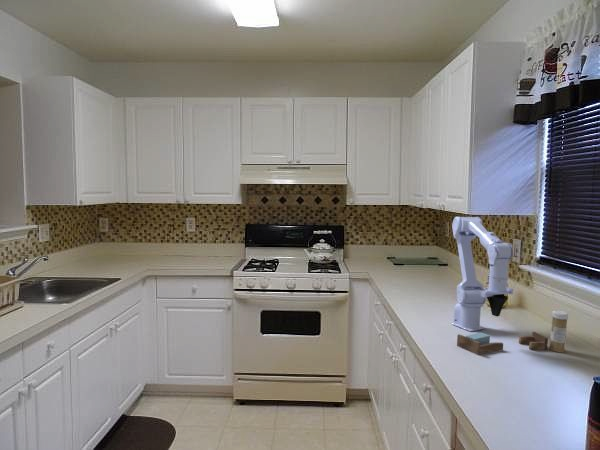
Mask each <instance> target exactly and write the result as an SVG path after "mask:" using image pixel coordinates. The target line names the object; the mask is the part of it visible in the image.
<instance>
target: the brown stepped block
mask: <svg viewBox="0 0 600 450" xmlns="http://www.w3.org/2000/svg"><path fill="white" fill-rule="evenodd" d="M548 341H549V338H548V337H546V336H544V335H542V334H540V333H539V332H536V331H532V334H531V335H524V336H523V335H519V336H518V344H520V345H528V349H529V350H530V351H543V350H545V351H546V350H548V343H549V342H548Z"/></svg>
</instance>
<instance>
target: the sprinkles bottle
mask: <svg viewBox="0 0 600 450" xmlns="http://www.w3.org/2000/svg"><path fill="white" fill-rule="evenodd" d="M551 316H552V317H551V318H552V319H551V329H550V330H551V331H550V342H549V343H550V344H549V345H550V346H549V349H550V350H551V351H554V352H556V353H564V352H565V351H566V349H565V347H566V340H567V339H566V337H567V323H568V319H569V313H568V312H566V311H563V310H552V312H551Z"/></svg>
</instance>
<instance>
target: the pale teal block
mask: <svg viewBox="0 0 600 450" xmlns="http://www.w3.org/2000/svg"><path fill="white" fill-rule="evenodd" d="M465 337H468V338H470V339H473V340H475V341H478V342H480V345H484V344H488V343H491V335H489V334H488V333H487V334H486V333H484V332H476V333H473V334H468V335H465Z"/></svg>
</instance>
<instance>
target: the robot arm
mask: <svg viewBox="0 0 600 450" xmlns="http://www.w3.org/2000/svg"><path fill="white" fill-rule="evenodd" d="M451 226H452V234H453V238H454V239H455V240H456V244H457V251H458V257H459V263H460V265H459V266H460V270H461V278H462V281H461V282H460V283H458V284H457V286H456V300H457V303H456V304H455V306H454V307H453V308H454V309H453V321H452V323H451V324H452V325H453V326H455V327H458V328H461V329H463V330H466V331H469V332H477V331H480V330H485V327H483V326H482V325H480V324H481V323H480V322H481V309H482V308H483V307H484V305H485V304H486V302H487V301H488V304H489V307H490V311H491V315H492V316H494V317H500V316H501V312H502V310H503V308H504V305H505V303H506V302H507V301H508V300H509V296H508V295H509V294H510V295H513V294H514V288H513V287H508V275H509V261H510V260H511V259H512V258H513V255H514V249H513V246H512V244H511V243H509V242H503V241H502V240H501V239H500V238H499V237H498V236H497V235H496V234H495V232H494V231H488V230H487V229H486V228H485V227H484V226H483V220H482V219H481V217H479V216H474V217H471V216H455V217H454V218H453V221H452V225H451ZM477 237H478V239H479V243H480V244H481V246H482V247H484V249H485V250H486V251H487V257H488V264H489V277H488V288H486V289H485V287H484V284H483V283H481V282H480V281H479V280H477V274H476V269H475V262H474V256H473V250H472V243H471V242H472V240H475V239H476V238H477Z"/></svg>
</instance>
